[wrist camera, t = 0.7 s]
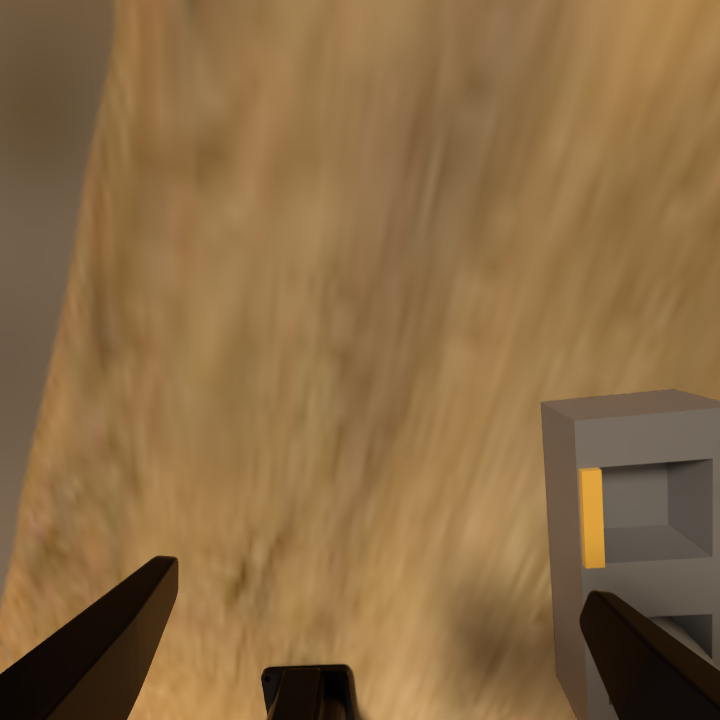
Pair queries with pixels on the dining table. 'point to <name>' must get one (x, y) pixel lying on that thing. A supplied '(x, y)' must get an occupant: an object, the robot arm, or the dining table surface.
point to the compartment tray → (631, 521)
